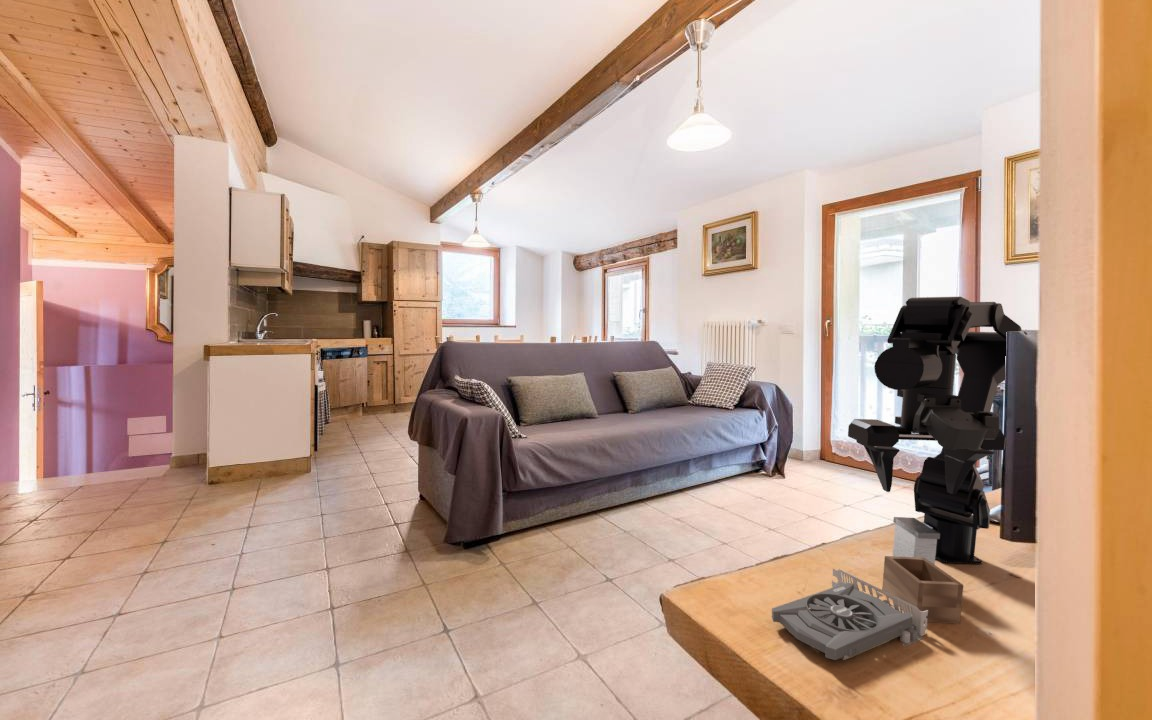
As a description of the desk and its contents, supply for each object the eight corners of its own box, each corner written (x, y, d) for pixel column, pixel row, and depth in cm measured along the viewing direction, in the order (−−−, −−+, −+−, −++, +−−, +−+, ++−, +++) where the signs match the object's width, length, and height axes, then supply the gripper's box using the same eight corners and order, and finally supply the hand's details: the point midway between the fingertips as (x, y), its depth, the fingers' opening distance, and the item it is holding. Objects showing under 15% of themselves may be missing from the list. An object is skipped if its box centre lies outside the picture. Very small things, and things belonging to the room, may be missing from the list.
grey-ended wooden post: (889, 567, 73) (893, 516, 73) (909, 568, 73) (913, 517, 73) (913, 587, 68) (918, 532, 67) (935, 588, 68) (940, 533, 67)
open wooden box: (921, 592, 67) (924, 557, 66) (959, 623, 60) (963, 585, 59) (882, 590, 67) (884, 556, 66) (915, 621, 60) (919, 583, 60)
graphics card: (838, 564, 68) (931, 609, 57) (836, 589, 68) (929, 639, 57) (750, 591, 61) (838, 649, 50) (749, 620, 61) (836, 683, 50)
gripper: (897, 392, 60) (887, 512, 62) (1049, 396, 60) (1036, 517, 61) (849, 381, 72) (842, 482, 73) (977, 384, 71) (967, 487, 72)
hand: (918, 492), depth 70 cm, fingers open, 9 cm apart
